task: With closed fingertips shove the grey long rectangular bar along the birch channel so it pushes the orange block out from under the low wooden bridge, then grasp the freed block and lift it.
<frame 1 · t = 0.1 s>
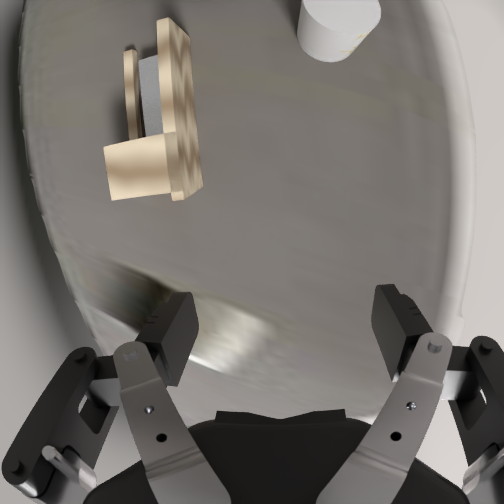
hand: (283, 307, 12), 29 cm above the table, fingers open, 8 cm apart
grey long rectangular bar: (161, 98, 35), on the table
bridge channel: (161, 114, 36), on the table
cup: (326, 37, 30), on the table
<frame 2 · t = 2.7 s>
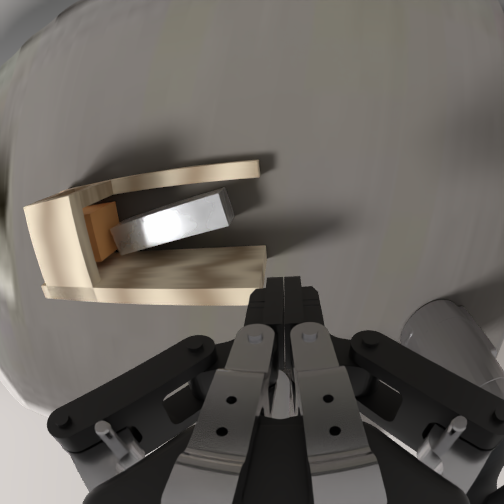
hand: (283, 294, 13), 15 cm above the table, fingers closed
grey long rectangular bar: (176, 216, 29), on the table
bridge channel: (153, 219, 29), on the table
cup: (260, 383, 37), on the table
block: (103, 224, 30), on the table
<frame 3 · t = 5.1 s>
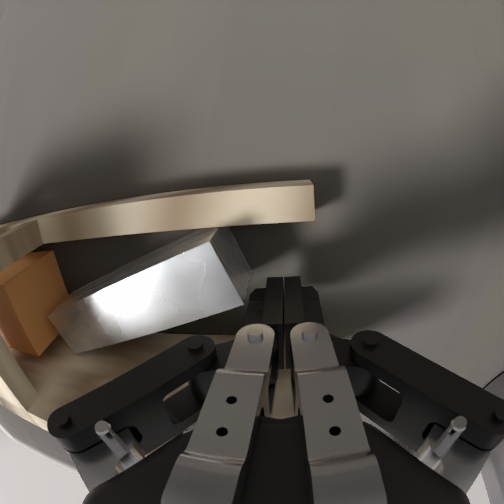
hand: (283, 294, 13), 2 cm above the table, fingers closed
grey long rectangular bar: (147, 280, 16), on the table, touching gripper
bridge channel: (113, 284, 16), on the table
block: (44, 283, 17), on the table
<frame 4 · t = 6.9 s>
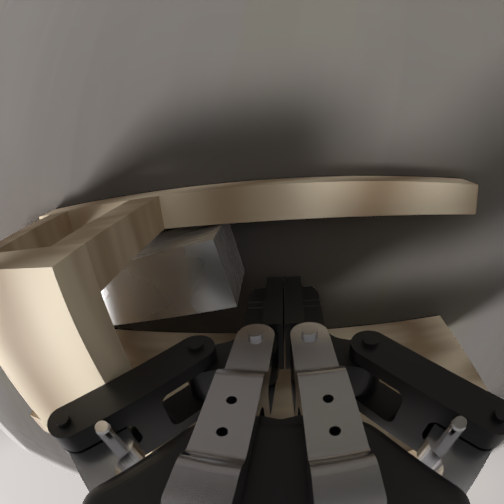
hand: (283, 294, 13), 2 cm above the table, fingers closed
grey long rectangular bar: (136, 266, 15), on the table
bridge channel: (252, 279, 15), on the table
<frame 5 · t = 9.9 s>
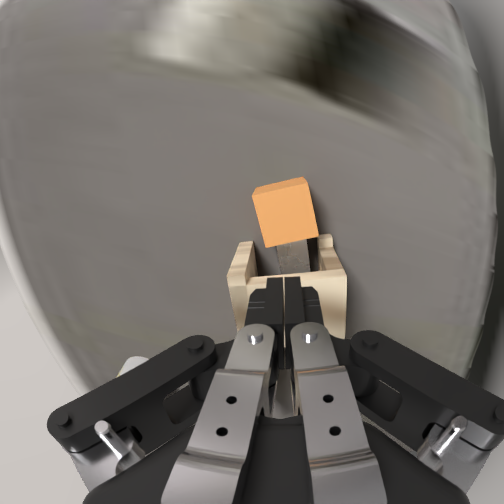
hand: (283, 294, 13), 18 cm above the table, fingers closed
grey long rectangular bar: (296, 276, 33), on the table
bridge channel: (292, 324, 35), on the table
block: (285, 204, 30), on the table
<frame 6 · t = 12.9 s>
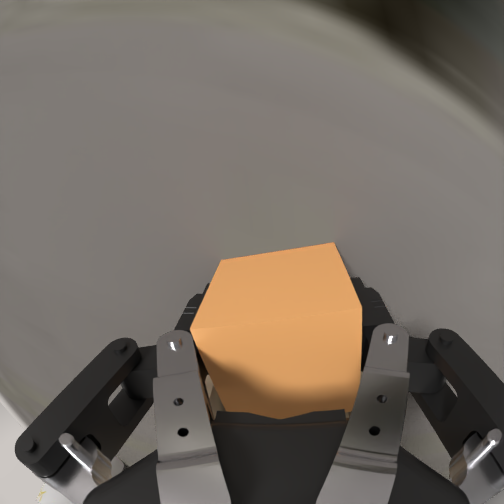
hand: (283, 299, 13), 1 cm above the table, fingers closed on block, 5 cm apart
bridge channel: (285, 450, 19), on the table
cup: (96, 451, 26), on the table
block: (285, 300, 13), on the table, touching gripper
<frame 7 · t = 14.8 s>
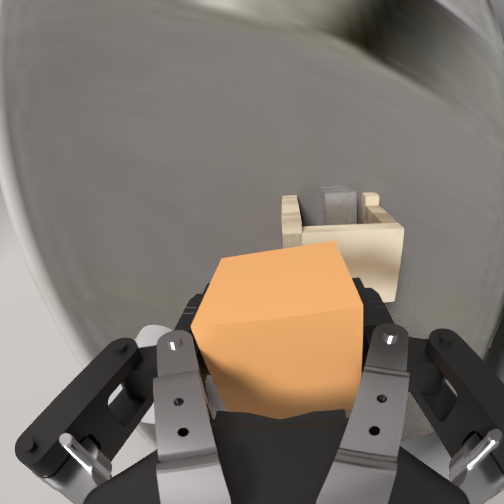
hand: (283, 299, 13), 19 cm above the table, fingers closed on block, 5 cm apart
grey long rectangular bar: (337, 238, 31), on the table
bridge channel: (329, 288, 33), on the table
cup: (163, 344, 41), on the table
block: (286, 298, 13), point 18 cm above the table, touching gripper
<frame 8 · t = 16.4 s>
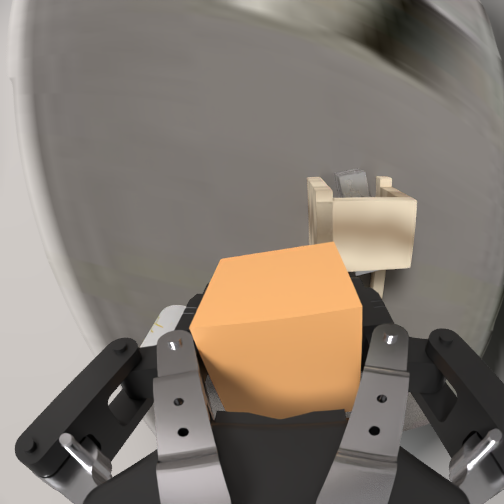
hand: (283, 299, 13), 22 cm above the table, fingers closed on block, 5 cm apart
grey long rectangular bar: (354, 217, 34), on the table
bridge channel: (347, 265, 36), on the table
cup: (183, 326, 43), on the table
block: (285, 299, 13), point 22 cm above the table, touching gripper
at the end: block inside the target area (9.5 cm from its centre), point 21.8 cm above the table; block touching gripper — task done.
